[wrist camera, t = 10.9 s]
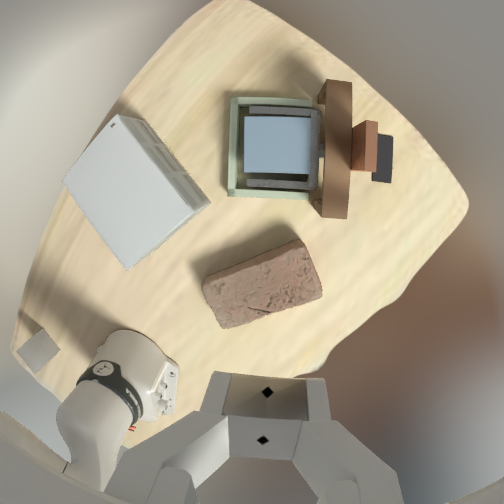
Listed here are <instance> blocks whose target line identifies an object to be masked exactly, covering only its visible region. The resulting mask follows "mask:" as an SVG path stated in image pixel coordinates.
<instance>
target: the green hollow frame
mask: <svg viewBox="0 0 504 504" xmlns="http://www.w3.org/2000/svg"><path fill="white" fill-rule="evenodd" d="M249 106H262V107H287V108H302V109H311V108H312V100H306V99H292V98H271V97H231V107H230V131H229V159H228V195H227V196H232V197H257V198H277V199H294V200H309V193H308V192H299V191H284V190H265V189H240V188H237V173H238V144H239V117H240V107H249Z"/></svg>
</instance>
